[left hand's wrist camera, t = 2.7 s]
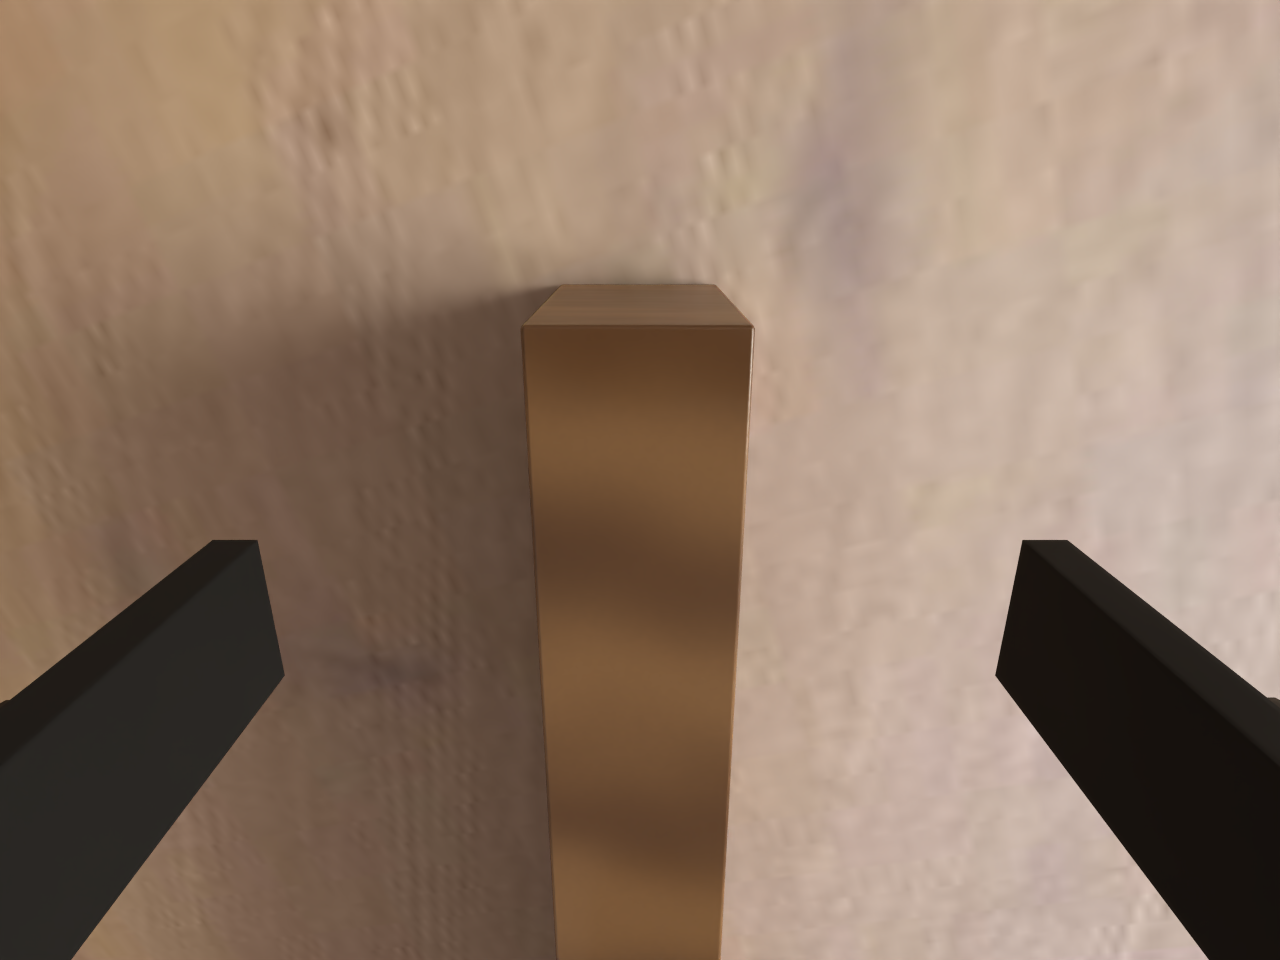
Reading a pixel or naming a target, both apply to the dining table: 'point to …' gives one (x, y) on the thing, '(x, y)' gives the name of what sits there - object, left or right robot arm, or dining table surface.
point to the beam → (638, 605)
